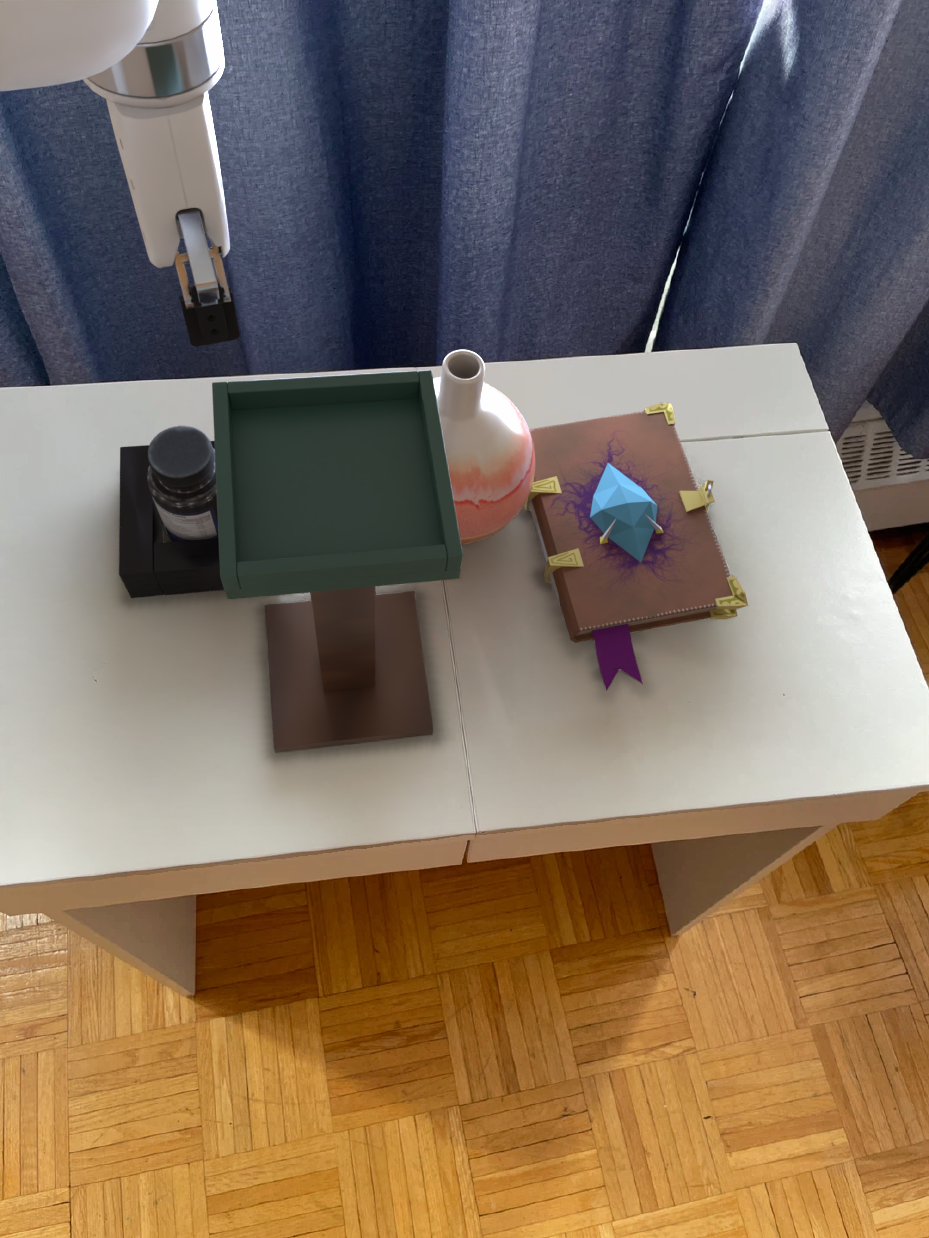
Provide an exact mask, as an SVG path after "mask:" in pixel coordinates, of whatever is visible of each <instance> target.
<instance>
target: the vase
mask: <svg viewBox="0 0 929 1238" xmlns="http://www.w3.org/2000/svg"><path fill="white" fill-rule="evenodd" d="M485 375H486V365H485V362H484V360H483V358H482V357H481V356H480V355H479V354H477V353H476V352H474V351H473V350H472V351H471V350H469V349H457V350H453V351H451V352H449V353H448V354H447V355H446V356H445V357H444V359H443V361H442V364H441V371H440V376H436V377H433V380H434V385H435V391H436V397H437V403H438V409H439V415H440V421H441V427H442V433H443V439H444V445H445V451H446V457H447V463H448V468H449V474H450V480H451V486H452V492H453V498H454V504H455V510H456V516H457V522H458V528H459V534H460V540H461V546H462V545H467V544H468V545H469V544H473V543H477V542H480V541H484V540H485V539H487V538H489V537H492V536H495V535H496V534H497V533H498V532H500V531H503V530H504V529H505V528H506V527H507V526H508V525H509V524H510V523H511V522H512V521H513V520H514V519H516V517H517V516H518V515H519V513H520V512H521V510H522V509H523V507H525V506H524V504H525V502H526V500H527V498H528V496H529V494H530V491H531V488H532V484H533V481H534V474H535V450H534V444H533V440H532V436H531V433H530V430H529V429H530V427H529V426H528V423H527V421H526V419H525V417H524V416H523V414H522V413H521V412H520V410H519V409H518V408H517V406H516V404H514V403H513V401H511V400H510V398H509V397H508V396H506V395H505V394H504V393H502V392H501V391H500V390H498V389H497V388H496V387H493V386H492V385H490V384H488V383H486V382H485Z"/></svg>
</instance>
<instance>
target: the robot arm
mask: <svg viewBox="0 0 929 1238" xmlns="http://www.w3.org/2000/svg"><path fill="white" fill-rule="evenodd" d="M223 46H224V45H223V40H222V33H221V26H220V18H219V13H218V6H217V0H0V92H10V91H18V90H19V91H20V90H27V89H37V88H44V87H53V86H58V85H64V84H68V83H73V82H78V81H83V82H84V83H85V85H86V86H88V88H89V89H90V90H91V91H92V92H94V93H95V94H96V95H98V96H100V97H101V98H104V99H105V100H106V106H107V109H108V114H109V118H110V122H111V126H112V130H113V134H114V138H115V142H116V145H117V148H118V149H117V150H118V152H119V156H120V160H121V163H122V167H123V172H124V175H125V177H126V181H127V185H128V188H129V192H130V196H131V200H132V203H133V205H134V206H133V207H134V209H135V210H134V211H135V214H136V217H137V221H138V225H139V228H140V232H141V235H142V239H143V242H144V246H145V250H146V254H147V257H148V260H149V262H150V263H151V264H152V265H153V266H155V267H156V268H157V269H162V268H166V267H167V268H168V267H173V265H174V266H175V269H176V273H177V277H178V281H179V285H180V289H181V292H182V293H181V294H182V295H179V296H178V299H179V302H180V306H181V311H182V314H183V319H184V323H185V327H186V330H187V334H188V338H189V342H190V345H191V346H193V347H195V348H196V347H197V348H198V347H204V346H208V345H214V344H219V343H225V342H231V341H235V340H238V339H239V338H240V336H241V333H240V328H239V322H238V317H237V311H236V305H235V299H234V294H233V291H232V287H229V284H228V281H227V277H226V273H225V268H224V263H223V259H224V258H226V256H227V255H228V254H229V252H230V250H231V240H230V232H229V231H230V230H229V222H228V216H227V215H228V214H227V207H226V200H225V192H224V185H223V178H222V173H221V165H220V157H219V152H218V145H217V139H216V134H215V128H214V122H213V116H212V115H213V114H212V110H211V104H210V99H209V91H210V90H211V89H212V88H213V87H215V85H217V83H218V81H220V79H221V77H222V75H223V73H224V69H225V55H224V47H223ZM207 237H208V239H209V241H210V245H211V246H210V247H209V245H208V241H207ZM182 240H183V243H184V246H185V251H179V246H180V242H181V241H182ZM185 264H189V266H190V270H191V274H192V278H193V283H194V285H192V286H190V282H189V278H188V273H187V269H186V265H185Z"/></svg>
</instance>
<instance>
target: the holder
mask: <svg viewBox="0 0 929 1238" xmlns="http://www.w3.org/2000/svg"><path fill="white" fill-rule="evenodd" d="M210 441H211V444H212V447H213V449H215V442H214V440H210ZM149 445H150V444H143V445H129V446H120V447H119V514H118V515H119V516H118V517H119V520H118V521H119V522H118V523H119V525H118V529H119V531H118V576H119V578H120V580H121V582H122V583H123V586H124V588H125V589H126V591H127V593H128V595H129V597H130V599H141V598H152V597H162V596H174V595H185V594H186V595H187V594H196V593H197V594H198V593H209V592H219V591H225V590H224V587H223V584H222V581H221V577H220V559H219V538H212V539H200V540H187V541H175V542H171V541H165V542H164V524H163V522H162V519H161V517H160V514H159V512H158V509H157V507H156V505H155V502H154V500H153V497H152V495H151V492H150V490H149V487H148V482H147V474H148V469H149V466H150V464H149V461H148V453H147V452H148V448H149Z"/></svg>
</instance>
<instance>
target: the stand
mask: <svg viewBox="0 0 929 1238" xmlns="http://www.w3.org/2000/svg"><path fill="white" fill-rule="evenodd" d="M376 587H377V586H375V587H364V588H353V589H342V590H331V591H320V592H309V596H310V600H301V601H289V602H281V603H280V602H279V603H271V604H269V603H268V604H264V615H265V618H264V619H265V630H266V631H265V633H266V648H267V663H268V678H269V694H270V695H269V696H270V709H271V721H272V722H271V723H272V724H271V726H272V740H273V751H274V752H275V753H276V754H277V753H287V752H295V751H303V750H313V749H321V748H331V747H340V746H347V745H355V744H366V743H374V742H382V741H391V740H400V739H409V738H417V737H426V736H427V737H428V736H433V735H434V722H433V716H432V715H433V714H432V709H431V701H430V700H431V699H430V694H429V687H428V679H427V673H426V667H425V666H426V665H425V658H424V652H423V645H422V644H423V643H422V637H421V630H420V623H419V615H418V610H417V602H416V601H417V600H416V594H415V590H411V591H399V592H389V593H388V592H387V593H378V594H377V592H376Z"/></svg>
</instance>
